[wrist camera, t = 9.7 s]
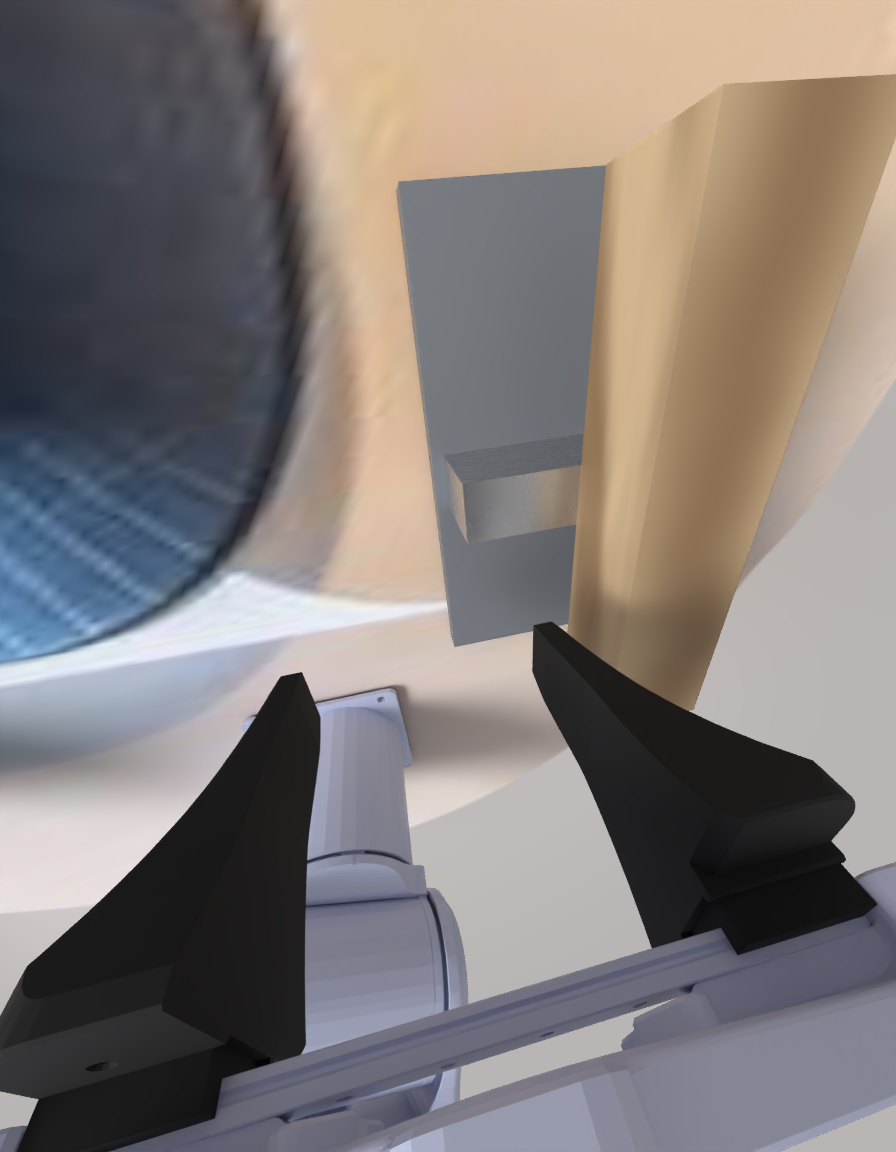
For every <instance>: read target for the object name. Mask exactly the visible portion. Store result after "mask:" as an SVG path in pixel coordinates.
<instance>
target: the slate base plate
mask: <svg viewBox="0 0 896 1152" xmlns="http://www.w3.org/2000/svg"><path fill="white" fill-rule="evenodd" d="M605 170H606V166H594V167H581V168H569V169H556V170H543V171H530V172H517V173H504V174H491V175H479V176H466V177H453V178H440V179H427V180H414V181H401V182H399V183H398V187H397V191H396V192H397V200H398V209H399V217H400V225H401V233H402V241H403V249H404V257H405V265H406V273H407V281H408V289H409V297H410V306H411V314H412V322H413V330H414V338H415V346H416V354H417V362H418V370H419V378H420V386H421V395H422V403H423V411H424V419H425V427H426V435H427V443H428V451H429V459H430V467H431V475H432V483H433V492H434V500H435V508H436V516H437V524H438V532H439V540H440V548H441V556H442V564H443V572H444V581H445V589H446V597H447V605H448V613H449V621H450V629H451V637H452V640H453V643H454V647H457V646H462V645H467V644H471V643H476V642H481V641H486V640H491V639H496V638H501V637H506V636H510V635H515V634H520V633H525V632H530V631H533V625H536V624H541V623H546V622H551V621H552V622H553V623H555V624H556V625H557V626H559V625H564V624H568V620H569V608H570V596H571V584H572V572H573V560H574V547H575V535H576V525H571V526H565V527H560V528H554V529H548V530H543V531H537V532H531V533H526V534H520V535H514V536H509V537H503V538H498V539H492V540H486V541H481V542H475V543H469V544H467V542H466V540H465V538H464V536H463V534H462V532H461V530H460V528H459V526H458V524H457V522H456V520H455V518H454V516H453V514H452V512H451V511H450V509H449V507H448V499H447V489H446V479H445V470H444V460H443V455H448V454H454V453H461V452H467V451H474V450H481V449H487V448H494V447H500V446H507V445H513V444H520V443H526V442H533V441H540V440H546V439H553V438H559V437H566V436H572V435H579V434H584V426H585V414H586V401H587V389H588V377H589V365H590V353H591V341H592V328H593V316H594V304H595V292H596V280H597V268H598V255H599V243H600V231H601V219H602V207H603V195H604V182H605Z"/></svg>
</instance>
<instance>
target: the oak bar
mask: <svg viewBox="0 0 896 1152" xmlns="http://www.w3.org/2000/svg"><path fill="white" fill-rule="evenodd" d="M895 137H896V74H893V75H876V76H858V77H841V78H823V79H805V80H788V81H770V82H753V83H735V84H723V85H722V86H721V87H719V88H718V89H716V90H715V91H713V92H712V93H710V94H709V95H707V96H706V97H704V98H703V99H702V100H700V101H699V102H697V103H696V104H694V105H693V106H691V107H690V108H688V109H687V110H686V111H684V112H683V113H681V114H680V115H678V116H677V117H675V118H674V119H672V120H671V121H670V122H668V123H667V124H665V125H664V126H662V127H661V128H659V129H658V130H656V131H655V132H654V133H652V134H651V135H649V136H648V137H646V138H645V139H643V140H642V141H640V142H639V143H638V144H636V145H635V146H633V147H632V148H630V149H629V150H627V151H626V152H624V153H623V154H622V155H620V156H619V157H617V158H616V159H614V160H613V161H611V162H610V163H608V164H607V165H606V170H605V182H604V195H603V207H602V219H601V231H600V243H599V255H598V268H597V280H596V292H595V304H594V316H593V328H592V341H591V353H590V365H589V377H588V389H587V401H586V414H585V426H584V438H583V450H582V462H581V474H580V487H579V499H578V511H577V523H576V535H575V547H574V560H573V572H572V584H571V596H570V608H569V620H568V634H569V635H570V636H571V637H573V638H574V639H575V640H577V641H578V642H579V643H580V644H582V645H583V646H584V647H586V648H587V649H588V650H590V651H591V652H592V653H594V654H595V655H596V656H598V657H599V658H601V659H602V660H603V661H605V662H606V663H608V664H609V665H610V666H612V667H613V668H615V669H616V670H618V671H619V672H621V673H622V674H624V675H625V676H627V677H628V678H630V679H632V680H633V681H635V682H636V683H638V684H640V685H641V686H643V687H645V688H646V689H648V690H650V691H652V692H653V693H655V694H657V695H659V696H661V697H662V698H664V699H666V700H668V701H670V702H671V703H673V704H675V705H677V706H679V707H681V708H683V709H685V710H687V711H690V710H693V709H694V707H695V704H696V701H697V698H698V695H699V693H700V690H701V687H702V684H703V681H704V678H705V676H706V673H707V670H708V667H709V664H710V661H711V659H712V655H713V653H714V650H715V647H716V644H717V642H718V639H719V636H720V633H721V630H722V627H723V625H724V622H725V619H726V616H727V613H728V610H729V608H730V604H731V602H732V599H733V596H734V593H735V591H736V588H737V585H738V582H739V579H740V576H741V574H742V571H743V568H744V565H745V562H746V559H747V557H748V554H749V551H750V548H751V545H752V543H753V540H754V537H755V534H756V531H757V528H758V526H759V523H760V520H761V517H762V514H763V511H764V509H765V506H766V503H767V500H768V497H769V494H770V492H771V489H772V486H773V483H774V480H775V477H776V475H777V472H778V469H779V466H780V463H781V460H782V458H783V455H784V452H785V449H786V446H787V443H788V441H789V438H790V435H791V432H792V429H793V426H794V424H795V421H796V418H797V415H798V412H799V409H800V407H801V404H802V401H803V398H804V395H805V392H806V390H807V387H808V384H809V381H810V378H811V375H812V373H813V370H814V367H815V364H816V361H817V358H818V356H819V353H820V350H821V347H822V344H823V341H824V339H825V336H826V333H827V330H828V327H829V324H830V322H831V319H832V316H833V313H834V310H835V307H836V305H837V302H838V299H839V296H840V293H841V290H842V288H843V285H844V282H845V279H846V276H847V273H848V271H849V268H850V265H851V262H852V259H853V256H854V254H855V251H856V248H857V245H858V242H859V239H860V237H861V234H862V231H863V228H864V225H865V222H866V220H867V217H868V214H869V211H870V208H871V205H872V203H873V200H874V197H875V194H876V191H877V188H878V186H879V183H880V180H881V177H882V174H883V171H884V169H885V166H886V163H887V160H888V157H889V154H890V152H891V149H892V146H893V143H894V140H895Z"/></svg>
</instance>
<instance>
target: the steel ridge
mask: <svg viewBox="0 0 896 1152" xmlns="http://www.w3.org/2000/svg"><path fill="white" fill-rule="evenodd" d="M583 438H584V434H579V435H572V436H566V437H559V438H553V439H546V440H540V441H533V442H526V443H520V444H513V445H507V446H500V447H494V448H487V449H481V450H474V451H467V452H461V453H454V454H448V455H443V460H444V470H445V479H446V489H447V499H448V507H449V509H450V511H451V512H452V514H453V516H454V518H455V520H456V522H457V524H458V526H459V528H460V530H461V532H462V534H463V536H464V538H465V540H466V542H467V544H469V543H475V542H481V541H486V540H492V539H498V538H503V537H509V536H514V535H520V534H526V533H531V532H537V531H543V530H548V529H554V528H560V527H565V526H571V525H576V523H577V511H578V499H579V487H580V474H581V462H582V450H583Z"/></svg>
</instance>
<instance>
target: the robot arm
mask: <svg viewBox="0 0 896 1152" xmlns="http://www.w3.org/2000/svg"><path fill="white" fill-rule="evenodd" d="M532 672H533V674H534V677H535V679H536V682H537V685H538V687H539V690H540V692H541V694H542V697H543V699H544V701H545V703H546V705H547V707H548V709H549V711H550V713H551V714H552V716H553V718H554V720H555V722H556V724H557V726H558V727H559V729H560V731H561V733H562V735H563V736H564V738H565V740H566V742H567V744H568V746H569V747H570V749H571V751H572V753H573V755H574V757H575V758H576V760H577V762H578V764H579V766H580V768H581V770H582V772H583V774H584V776H585V778H586V780H587V783H588V785H589V787H590V790H591V792H592V794H593V796H594V799H595V801H596V803H597V806H598V808H599V811H600V813H601V815H602V818H603V820H604V823H605V825H606V828H607V830H608V833H609V835H610V837H611V840H612V842H613V845H614V847H615V850H616V853H617V855H618V858H619V860H620V863H621V865H622V868H623V870H624V873H625V876H626V878H627V881H628V884H629V886H630V889H631V892H632V894H633V897H634V900H635V903H636V905H637V908H638V911H639V913H640V916H641V919H642V921H643V924H644V927H645V930H646V933H647V936H648V939H649V942H650V944H651V947H652V949H649V950H646V951H642V952H639V953H636V954H633V955H629V956H626V957H623V958H619V959H616V960H613V961H609V962H606V963H603V964H600V965H596V966H593V967H589V968H586V969H583V970H580V971H576V972H573V973H570V974H566V975H563V976H560V977H556V978H554V979H550V980H547V981H544V982H540V983H537V984H533V985H530V986H527V987H523V988H520V989H517V990H513V991H510V992H507V993H504V994H500V995H497V996H494V997H490V998H487V999H484V1000H481V1001H477V1002H474V1003H471V1004H468V985H467V972H466V963H465V955H464V949H463V944H462V939H461V935H460V931H459V927H458V924H457V921H456V918H455V916H454V913H453V911H452V909H451V908H450V907H449V905H448V904H447V902H446V901H445V899H444V897H443V896H442V894H441V893H440V892H439V891H438V890H437V889H435V888H426V880H425V872H424V866H422V865H413V864H412V854H411V843H410V833H409V823H408V813H407V803H406V793H405V782H404V772H403V767H407V766H410V765H411V764H412V763H413V759H412V754H411V750H410V746H409V742H408V738H407V733H406V729H405V725H404V721H403V717H402V713H401V709H400V705H399V701H398V697H397V693H396V691H395V690H394V689H391V688H387V689H382V690H378V691H373V692H368V693H363V694H359V695H354V696H349V697H345V698H340V699H335V700H330V701H326V702H321V703H316V704H315V702H314V700H313V697H312V695H311V693H310V690H309V688H308V685H307V683H306V681H305V678H304V676H303V673H302V672H300V673H295V674H290V675H286V676H281V677H280V679H279V680H278V681H277V683H276V685H275V686H274V688H273V690H272V691H271V693H270V694H269V696H268V698H267V699H266V701H265V703H264V704H263V706H262V707H261V709H260V711H259V712H258V714H257V715H256V716H255V717H250V718H247V719H245V720H244V722H243V725H242V729H243V731H244V732H245V734H244V735H243V737H242V738H241V740H240V741H239V743H238V744H237V746H236V747H235V749H234V750H233V751H232V753H231V754H230V756H229V757H228V758H227V760H226V761H225V763H224V764H223V765H222V767H221V768H220V770H219V771H218V772H217V774H216V775H215V776H214V778H213V779H212V780H211V782H210V783H209V784H208V785H207V787H206V788H205V789H204V790H203V792H202V793H201V794H200V795H199V797H198V798H197V799H196V800H195V802H194V803H193V804H192V805H191V806H190V808H189V809H188V810H187V811H186V812H185V814H184V815H183V816H182V817H181V818H180V819H179V820H178V821H177V823H176V824H175V825H174V826H173V827H172V828H171V829H170V830H169V831H168V832H167V833H166V835H165V836H164V837H163V838H162V839H161V840H160V841H159V842H158V843H157V844H156V845H155V847H154V848H153V849H152V850H151V851H150V852H149V853H148V854H147V855H146V856H145V857H144V858H143V859H142V860H141V861H140V862H139V863H138V864H137V865H136V866H135V867H134V868H133V869H132V870H131V871H130V872H129V873H128V874H127V875H126V876H125V877H124V878H123V879H122V880H121V881H120V882H119V883H118V884H117V885H116V886H115V887H114V888H113V889H112V890H111V891H110V892H109V893H108V894H107V895H106V896H105V897H104V898H103V899H102V900H101V901H100V902H98V903H97V904H96V905H95V906H94V907H93V908H92V909H91V910H90V911H89V912H88V913H87V914H86V915H84V916H83V917H82V918H81V919H80V920H79V921H78V922H77V923H75V924H74V925H73V926H72V927H71V928H70V929H69V930H68V931H67V932H66V933H64V934H63V935H62V936H61V937H60V938H59V939H58V940H56V942H54V943H53V944H52V945H51V946H50V947H49V948H48V949H46V950H45V951H44V952H43V953H42V954H41V955H40V956H38V957H37V958H36V959H35V960H34V961H33V962H31V963H30V964H29V965H28V966H27V968H26V969H25V971H24V973H23V975H22V976H21V978H20V980H19V982H18V984H17V986H16V987H15V989H14V991H13V993H12V995H11V997H10V999H9V1001H8V1002H7V1004H6V1006H5V1008H4V1010H3V1012H2V1014H1V1016H0V1091H1V1092H6V1093H11V1094H16V1095H21V1096H25V1097H30V1098H36V1099H39V1100H38V1102H37V1105H36V1107H35V1110H34V1112H33V1114H32V1116H31V1119H30V1122H29V1124H28V1126H18V1127H11V1128H6V1129H2V1130H0V1152H780V1151H783V1150H785V1149H788V1148H790V1147H792V1146H795V1145H798V1144H800V1143H802V1142H805V1141H807V1140H809V1139H812V1138H815V1137H817V1136H820V1135H822V1134H824V1133H827V1132H829V1131H832V1130H834V1129H837V1128H839V1127H842V1126H844V1125H847V1124H849V1123H852V1122H854V1121H856V1120H859V1119H861V1118H864V1117H866V1116H869V1115H871V1114H874V1113H876V1112H879V1111H881V1110H884V1109H886V1108H888V1107H891V1106H893V1105H896V862H895V863H892V864H888V865H885V866H881V867H878V868H875V869H872V870H869V871H866V872H864V873H862V874H860V875H858V876H856V877H855V878H853V876H852V875H851V874H850V873H849V872H848V871H847V870H846V869H845V868H844V866H843V865H842V864H841V863H844V861H845V860H846V858H845V856H844V854H843V853H842V852H841V851H840V850H839V849H838V848H837V847H836V846H835V845H834V844H833V843H832V841H831V840H832V839H833V838H834V837H835V836H836V835H837V834H838V832H839V831H840V830H841V829H842V828H843V827H844V826H845V824H846V823H847V822H848V821H849V819H850V818H851V817H852V815H853V814H854V811H855V801H854V799H853V798H852V796H851V795H849V794H848V793H847V792H846V791H845V790H844V789H843V788H842V787H841V786H840V785H839V784H838V783H837V782H835V781H834V780H833V779H832V778H831V777H830V776H829V775H828V774H827V773H826V772H825V771H824V770H823V769H822V768H821V767H820V766H818V765H817V764H816V763H815V762H814V761H813V760H810V759H807V758H804V757H801V756H798V755H796V754H793V753H790V752H787V751H784V750H781V749H778V748H775V747H773V746H770V745H767V744H764V743H761V742H759V741H756V740H754V739H751V738H748V737H746V736H744V735H741V734H739V733H736V732H734V731H731V730H729V729H726V728H724V727H722V726H720V725H717V724H715V723H713V722H710V721H708V720H706V719H704V718H702V717H700V716H698V715H696V714H694V713H691V712H689V711H687V710H685V709H683V708H681V707H679V706H677V705H675V704H673V703H671V702H670V701H668V700H666V699H664V698H662V697H661V696H659V695H657V694H655V693H653V692H652V691H650V690H648V689H646V688H645V687H643V686H641V685H640V684H638V683H636V682H635V681H633V680H632V679H630V678H628V677H627V676H625V675H624V674H622V673H621V672H619V671H618V670H616V669H615V668H613V667H612V666H610V665H609V664H608V663H606V662H605V661H603V660H602V659H601V658H599V657H598V656H596V655H595V654H594V653H592V652H591V651H590V650H588V649H587V648H586V647H584V646H583V645H582V644H580V643H579V642H578V641H577V640H575V639H574V638H573V637H571V636H570V635H569V634H568V633H566V632H565V631H564V630H562V629H561V628H560V627H559V626H557V625H556V624H555V623H553V622H552V621H551V622H546V623H541V624H536V625H533V668H532ZM379 697H382V698H379ZM677 997H678V998H677ZM674 998H676V999H674ZM671 999H674V1000H671ZM668 1000H671V1001H669V1002H667V1003H665V1004H663V1005H661V1006H659V1007H657V1008H654V1009H653V1010H650V1011H648V1012H646V1013H644V1014H642V1015H640V1016H637V1017H635V1018H634V1022H633V1026H634V1030H633V1032H631V1033H630V1034H629V1035H628V1036H627V1037H626V1038H624V1039H623V1040H622V1044H621V1047H622V1049H623V1051H620V1052H616V1053H612V1054H608V1055H605V1056H601V1057H597V1058H594V1059H590V1060H587V1061H583V1062H580V1063H576V1064H572V1065H569V1066H565V1067H562V1068H559V1069H555V1070H553V1071H549V1072H546V1073H542V1074H539V1075H536V1076H532V1077H529V1078H526V1079H523V1080H520V1081H517V1082H514V1083H511V1084H508V1085H505V1086H502V1087H498V1088H495V1089H492V1090H490V1091H486V1092H484V1093H481V1094H478V1095H475V1096H472V1097H470V1098H466V1099H464V1100H461V1101H460V1075H461V1066H464V1065H467V1064H470V1063H473V1062H476V1061H480V1060H483V1059H486V1058H489V1057H492V1056H495V1055H498V1054H501V1053H505V1052H507V1051H511V1050H514V1049H517V1048H520V1047H524V1046H527V1045H529V1044H533V1043H536V1042H539V1041H542V1040H545V1039H549V1038H552V1037H555V1036H558V1035H561V1034H564V1033H567V1032H570V1031H574V1030H577V1029H580V1028H583V1027H586V1026H589V1025H592V1024H595V1023H599V1022H602V1021H605V1020H608V1019H611V1018H614V1017H618V1016H621V1015H623V1014H627V1013H630V1012H633V1011H636V1010H639V1009H643V1008H646V1007H649V1006H652V1005H655V1004H658V1003H662V1002H665V1001H668Z"/></svg>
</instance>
